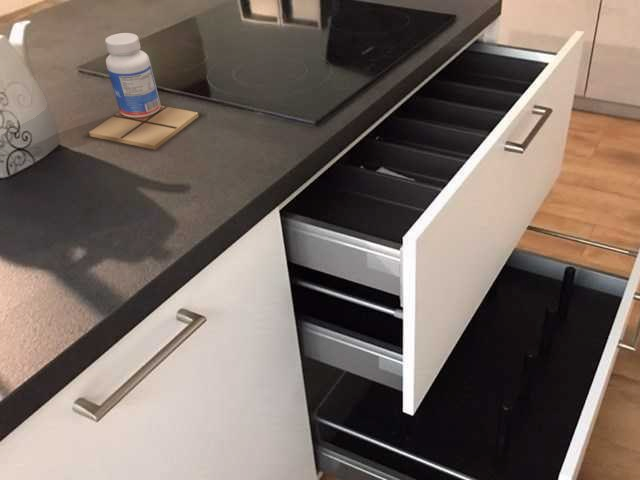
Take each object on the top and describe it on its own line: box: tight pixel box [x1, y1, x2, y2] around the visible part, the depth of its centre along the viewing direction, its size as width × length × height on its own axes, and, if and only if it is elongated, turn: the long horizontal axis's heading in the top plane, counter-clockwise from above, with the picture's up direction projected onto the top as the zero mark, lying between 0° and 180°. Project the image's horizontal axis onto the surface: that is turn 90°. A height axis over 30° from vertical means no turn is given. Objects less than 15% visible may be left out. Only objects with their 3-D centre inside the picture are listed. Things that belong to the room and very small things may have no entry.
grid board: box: [88, 105, 200, 150], centre depth 88 cm, size 10×10×1 cm
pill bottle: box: [104, 32, 162, 118], centre depth 86 cm, size 6×5×10 cm
